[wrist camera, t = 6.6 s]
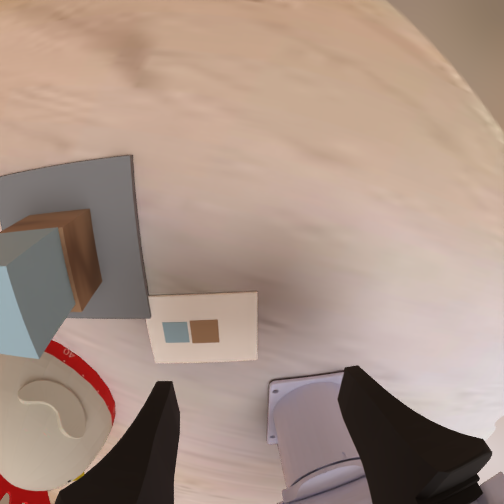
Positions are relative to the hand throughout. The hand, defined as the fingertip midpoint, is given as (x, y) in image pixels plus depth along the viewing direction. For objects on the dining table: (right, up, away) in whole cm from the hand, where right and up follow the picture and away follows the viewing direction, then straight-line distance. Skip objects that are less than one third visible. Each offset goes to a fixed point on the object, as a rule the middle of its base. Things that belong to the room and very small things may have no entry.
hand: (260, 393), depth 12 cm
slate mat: (-13, +6, +7) cm, 16 cm away
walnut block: (-13, +6, +6) cm, 16 cm away
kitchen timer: (-20, -7, +12) cm, 24 cm away
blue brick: (-13, +5, +2) cm, 14 cm away
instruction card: (-4, 0, +10) cm, 11 cm away
